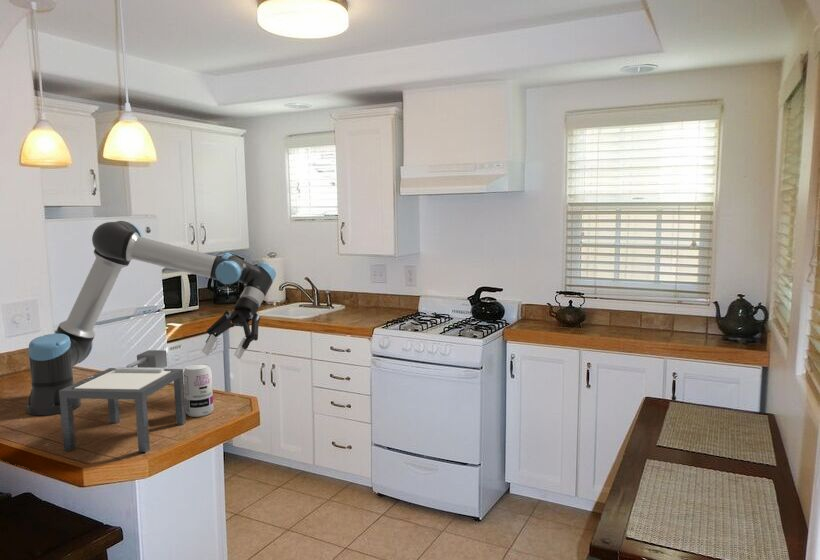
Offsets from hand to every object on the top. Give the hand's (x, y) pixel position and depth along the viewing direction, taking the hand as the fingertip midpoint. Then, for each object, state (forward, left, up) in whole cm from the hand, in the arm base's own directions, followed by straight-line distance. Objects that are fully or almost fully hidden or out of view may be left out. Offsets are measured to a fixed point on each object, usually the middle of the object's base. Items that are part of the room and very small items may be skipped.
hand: (220, 354), depth 200 cm
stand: (-16, -30, -16) cm, 37 cm away
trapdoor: (-16, -21, -3) cm, 27 cm away
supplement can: (-4, -10, -17) cm, 20 cm away
